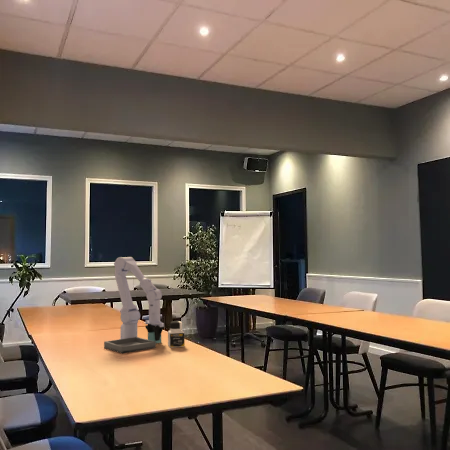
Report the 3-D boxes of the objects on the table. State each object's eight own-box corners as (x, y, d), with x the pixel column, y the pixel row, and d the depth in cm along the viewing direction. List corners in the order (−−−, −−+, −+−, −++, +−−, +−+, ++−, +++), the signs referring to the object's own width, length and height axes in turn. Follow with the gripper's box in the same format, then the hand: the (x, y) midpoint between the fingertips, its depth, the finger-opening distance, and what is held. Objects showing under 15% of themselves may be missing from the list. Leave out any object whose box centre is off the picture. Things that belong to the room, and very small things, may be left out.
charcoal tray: (104, 347, 225) (104, 341, 225) (136, 342, 237) (136, 336, 237) (122, 353, 211) (122, 346, 212) (155, 347, 223) (155, 341, 223)
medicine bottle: (170, 347, 223) (170, 322, 224) (167, 345, 230) (167, 320, 231) (184, 346, 225) (184, 322, 226) (182, 344, 232) (181, 320, 233)
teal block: (147, 342, 237) (147, 332, 237) (156, 341, 240) (156, 331, 241) (153, 343, 233) (153, 333, 234) (161, 342, 237) (161, 332, 237)
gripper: (140, 312, 241) (140, 338, 240) (155, 315, 230) (155, 342, 229) (152, 311, 245) (152, 337, 244) (167, 313, 234) (167, 340, 233)
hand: (154, 339), depth 237 cm, fingers closed on teal block, 5 cm apart
